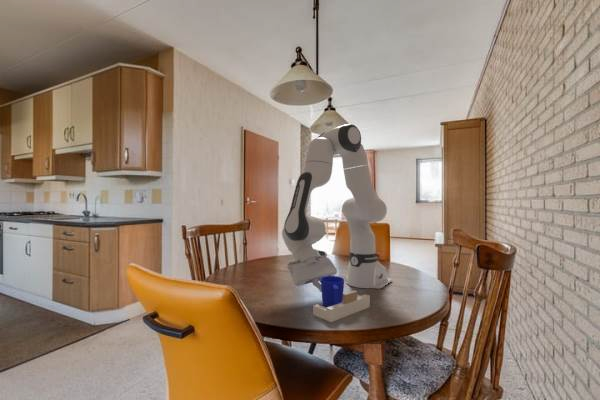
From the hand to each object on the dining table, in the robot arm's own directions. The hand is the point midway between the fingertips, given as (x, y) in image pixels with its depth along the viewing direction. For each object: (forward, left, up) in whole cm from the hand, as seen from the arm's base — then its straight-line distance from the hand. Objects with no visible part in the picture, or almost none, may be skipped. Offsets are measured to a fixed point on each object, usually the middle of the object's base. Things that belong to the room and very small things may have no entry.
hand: (324, 290), depth 106 cm
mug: (+1, +6, -5) cm, 8 cm away
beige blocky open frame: (0, +9, -5) cm, 10 cm away
